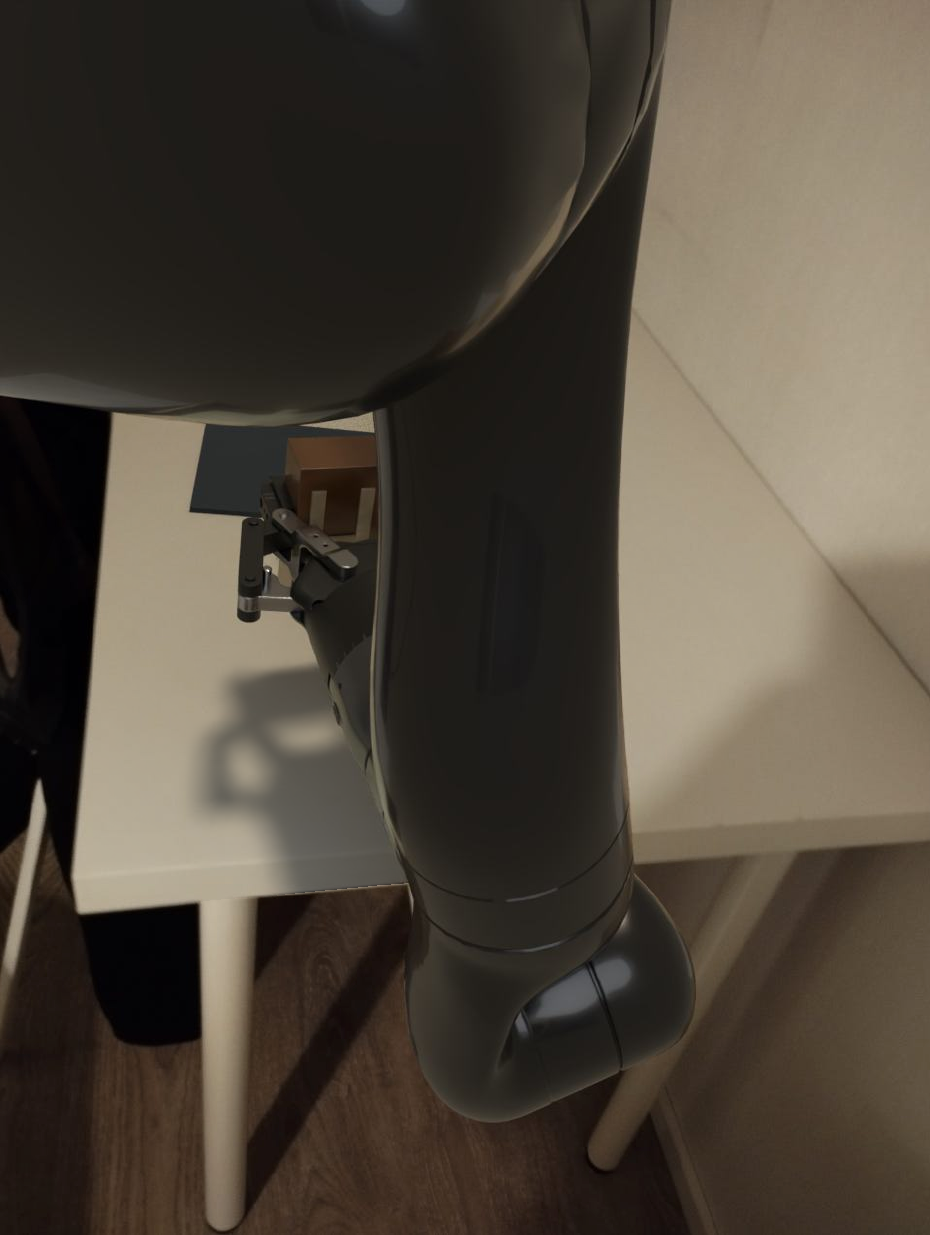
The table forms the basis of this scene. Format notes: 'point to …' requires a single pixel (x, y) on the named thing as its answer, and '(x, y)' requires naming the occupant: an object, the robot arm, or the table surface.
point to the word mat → (245, 464)
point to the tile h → (333, 487)
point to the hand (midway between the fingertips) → (320, 485)
